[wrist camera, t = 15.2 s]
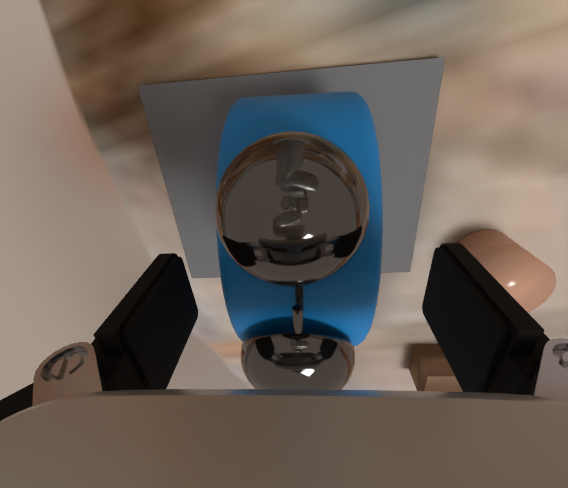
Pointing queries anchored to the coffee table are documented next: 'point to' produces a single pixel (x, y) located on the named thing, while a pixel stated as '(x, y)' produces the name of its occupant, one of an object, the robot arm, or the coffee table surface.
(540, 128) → the coffee table surface
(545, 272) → the tan egg shape
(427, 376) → the walnut block
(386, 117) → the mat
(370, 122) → the alarm clock
